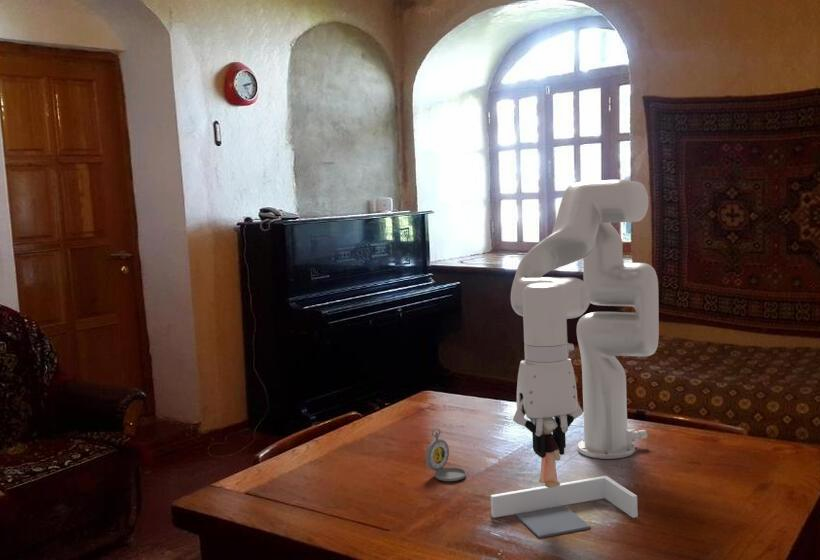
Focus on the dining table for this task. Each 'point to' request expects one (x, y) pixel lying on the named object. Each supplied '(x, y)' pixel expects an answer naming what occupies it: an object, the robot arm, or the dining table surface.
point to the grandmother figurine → (549, 455)
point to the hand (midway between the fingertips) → (549, 453)
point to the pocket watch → (442, 461)
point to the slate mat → (552, 521)
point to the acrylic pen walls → (564, 497)
